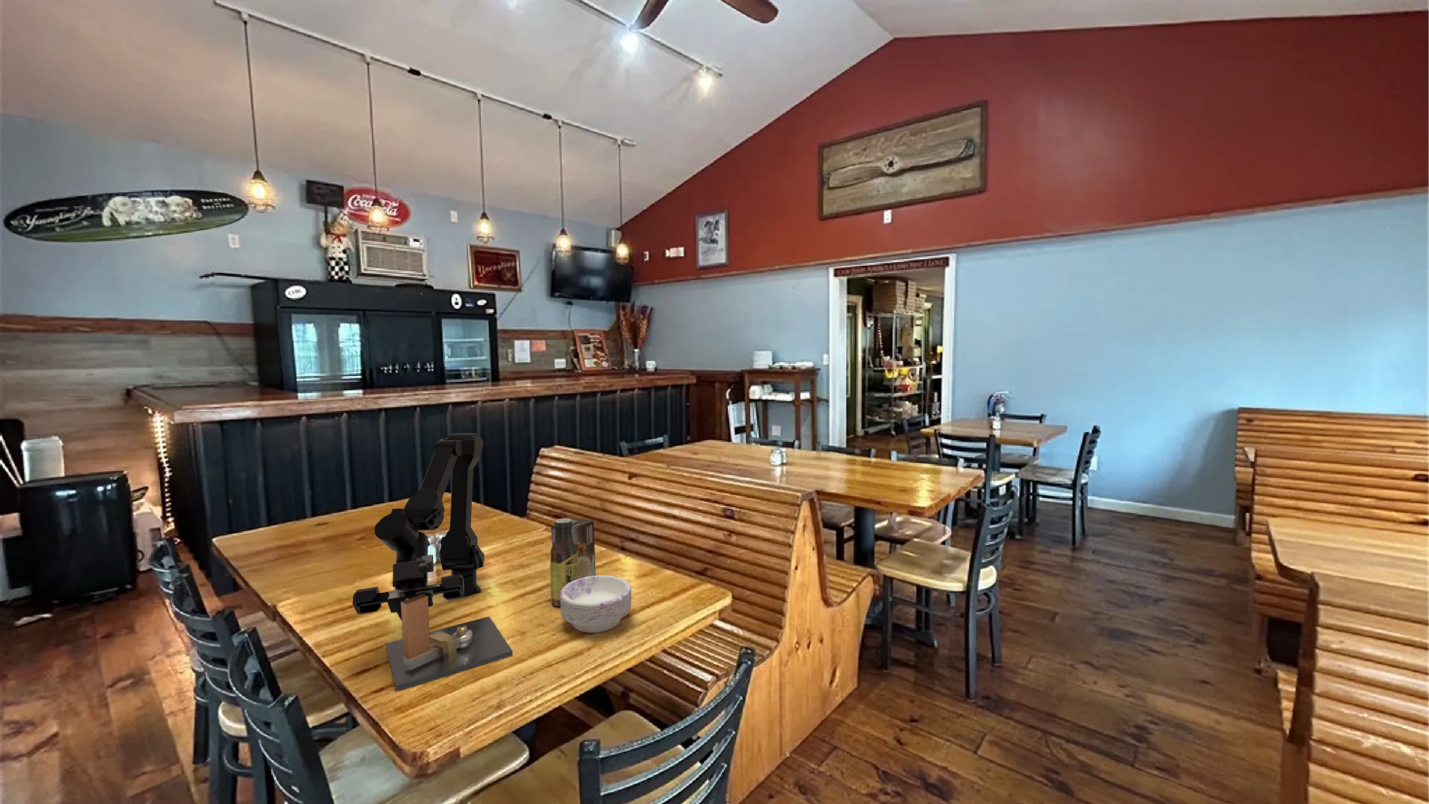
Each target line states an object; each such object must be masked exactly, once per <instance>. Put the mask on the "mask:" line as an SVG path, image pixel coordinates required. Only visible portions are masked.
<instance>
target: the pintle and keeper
mask: <svg viewBox="0 0 1429 804" xmlns="http://www.w3.org/2000/svg"><path fill="white" fill-rule="evenodd" d="M466 632H467V626H465V625H462V626H459V627H457V634H459V635H462V634H465V633H466ZM430 643H431V644H434V645H436V646H439V647H441V648H442V647H443V654H444V661H446V662H449V663H450V662H452V661H454V660H455V659H457V653H456V639H455V638H453V636H452V635H449V634H446V633H444V632H441V631H439V632H437V633H435V634H433V635H430ZM469 645H470V644H469ZM469 645H467V646H463V647H459V648H457V649H463V648H466V647H468V646H469Z"/></svg>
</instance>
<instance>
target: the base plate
mask: <svg viewBox="0 0 1429 804" xmlns="http://www.w3.org/2000/svg"><path fill="white" fill-rule="evenodd" d="M462 625H465V626H467V629H468V630H471V631H472V642H471V643H470V645H469V646H468V647H466V648H463V649H456V653H457V659H455V660H454V661H452V662H450V663H449V662H446V661H444V655H442V656H440V657H438V658H436V659H433V660H431V661H429V662H427V663H425V664H423V665H421V666H418V667H416V668H414V669H412V670H409V669H408V668H406V667H404V662H403V657H404V648H403V638H400V639H397V640H394V641H390V642H386V643H385V651H386V654H387V659H388V663H389V666H390V670H391V675H392V678H393V683H394V687H395V691H396V692H399V691H402V690H407V689H409V688H412V687H416V686H418V685H422V684H425V683H428V682H432V681H435V680H439V679H441V678H444V677H448V676H452V675H454V674H458V673H461V672H464V671H467V670H470V669H473V668H477V667H480V666H483V665H487V664H490V663H493V661H494V662H497V661H499V659H500V660H502V659H501V658H503V659H506V657H507V656H510V657H513V656H514V655H513V654H514V653H513V649H512V648H511V646H510V645H509V643H508V641H506V638H505V637H504V636H503V635H502V633H501V631H500V630H499V628H498V627H497V626H496V624H495V622H494V621H493V619H492V618H491V616H484V617H481V618H477V619H474V620H470V621H466V622H462V623H459V624H458V623H457V624H454V625H451V626H447V627H442V628H438V629H436V630H430V635H433V634H435V633H437V632H439V631H441V632H444V633H446V634H449V635H453V634H454V633H455V632H457V627H459V626H462ZM430 645H431V643H430ZM512 655H513V656H512ZM507 658H508V657H507Z"/></svg>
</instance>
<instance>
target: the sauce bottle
mask: <svg viewBox="0 0 1429 804" xmlns="http://www.w3.org/2000/svg"><path fill="white" fill-rule="evenodd" d="M571 519H572V518H563V517H562V518H558V519H556V520H554V525H555V532H556V536H555V539H556V540H555V542H554V544H553V546H552V545H551V548H550V560H549V561H550V562H549V565H550V566H549V567H550V569H549V570H550V598H551V604H552V606H555V607H559V608H561V605H560V604H561V602H560V593H561V590H562V589H563V587H564V586H566V585H567V584H568V583H570V582H572V581H574V580H577V579H578V563H577V550H576V547H575V545H574V542H573V539H572V529H571V528H572V520H571Z"/></svg>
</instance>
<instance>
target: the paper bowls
mask: <svg viewBox="0 0 1429 804" xmlns="http://www.w3.org/2000/svg"><path fill="white" fill-rule="evenodd" d="M560 602H561V604H560V605H561V607H560V615H561V618H562V620H564V621H565V622H567V623H569V624H571V625H572V626H573V628H574V629H576V630H577V631H579V632H583V633H589V634H590V633H591V634H592V633H593V634H594V633H601V632H605V631H609V630H611V629H613V628H615V627H616V626H617V625H618V624H619V623H620V622H621V620H622V618H623V619H624V617H626V616H627V615H628V614H629V612H630V611H631V608H632V586H631V584H630V583H629V582H628V581H627V580H626V579H624V578H622V577H618V576H614V575H605V574H604V575H597V574H596V576H588V577H584V578H580V579H577V580H574V581H572V582H570V583H568V584H567V585H566V586H564V587H563V589H562V590H561V593H560Z"/></svg>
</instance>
